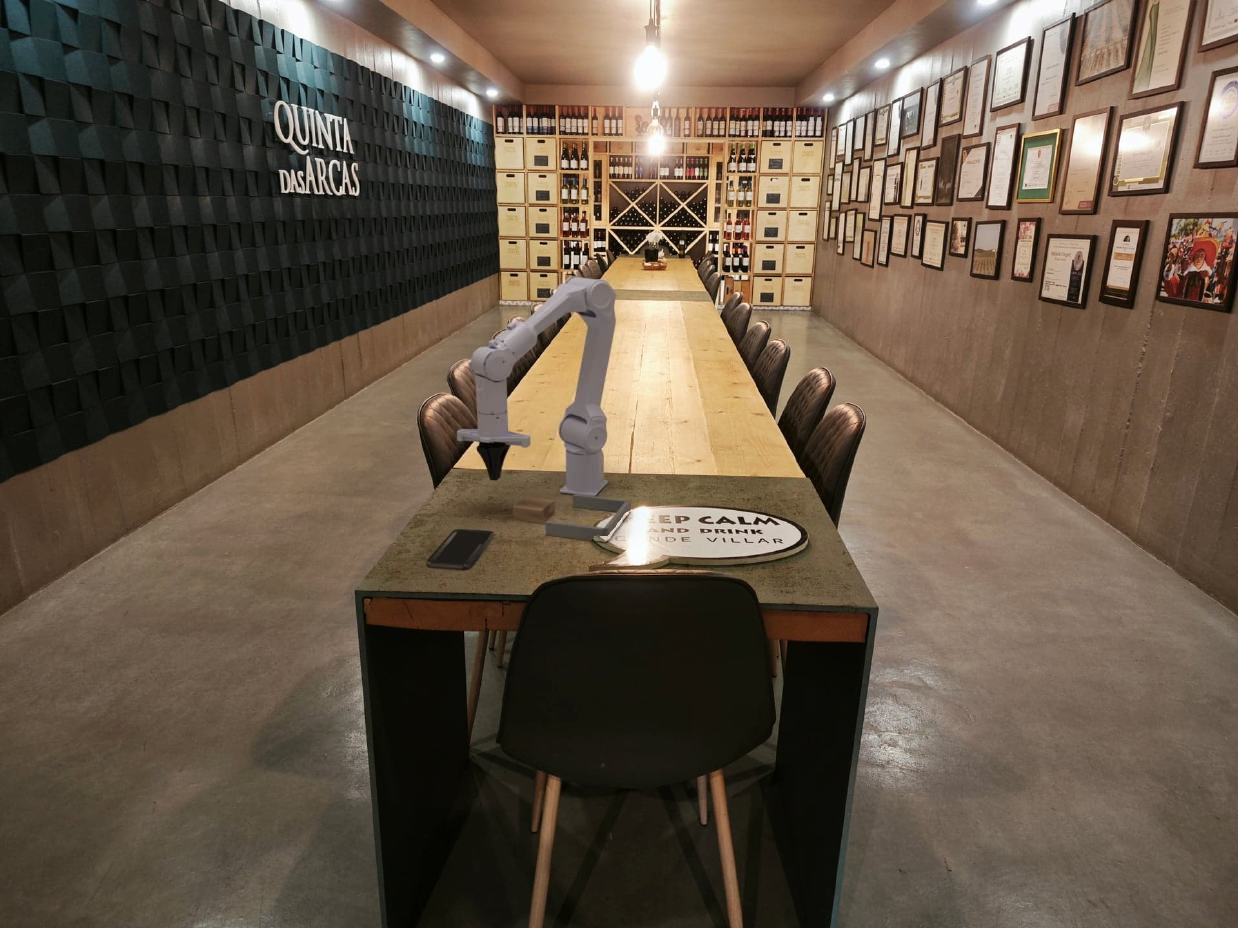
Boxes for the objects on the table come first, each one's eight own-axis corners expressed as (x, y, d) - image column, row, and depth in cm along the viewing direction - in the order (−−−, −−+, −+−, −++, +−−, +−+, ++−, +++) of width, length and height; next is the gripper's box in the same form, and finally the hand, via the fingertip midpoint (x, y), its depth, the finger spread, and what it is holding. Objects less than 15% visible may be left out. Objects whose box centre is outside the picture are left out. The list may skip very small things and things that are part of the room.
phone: (424, 563, 131) (454, 528, 145) (424, 569, 131) (455, 534, 145) (469, 566, 130) (496, 531, 144) (470, 572, 130) (496, 536, 144)
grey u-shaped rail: (574, 505, 159) (574, 494, 158) (630, 512, 155) (630, 500, 155) (545, 534, 144) (545, 522, 144) (606, 542, 141) (606, 530, 140)
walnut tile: (526, 510, 157) (526, 496, 156) (554, 514, 155) (554, 500, 154) (513, 521, 151) (512, 506, 150) (542, 525, 149) (541, 510, 148)
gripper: (447, 412, 147) (451, 481, 151) (519, 419, 143) (521, 489, 147) (465, 404, 153) (468, 470, 158) (534, 410, 149) (535, 477, 154)
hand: (495, 478), depth 153 cm, fingers closed
